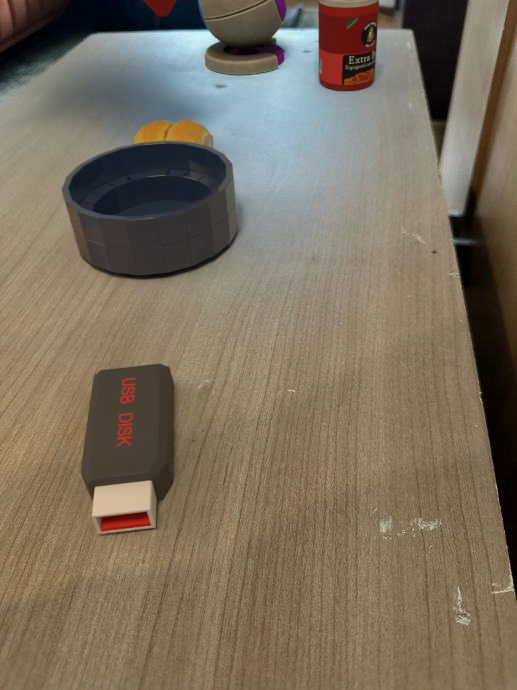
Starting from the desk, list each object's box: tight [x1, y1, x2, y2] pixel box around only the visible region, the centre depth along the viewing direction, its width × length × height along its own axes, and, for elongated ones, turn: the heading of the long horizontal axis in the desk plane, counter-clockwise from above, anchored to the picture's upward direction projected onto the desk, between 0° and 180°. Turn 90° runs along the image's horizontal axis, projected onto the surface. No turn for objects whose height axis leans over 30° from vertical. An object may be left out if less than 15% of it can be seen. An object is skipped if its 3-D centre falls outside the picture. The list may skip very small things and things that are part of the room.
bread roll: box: [132, 119, 215, 149], centre depth 73 cm, size 8×9×4 cm
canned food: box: [317, 0, 380, 92], centre depth 86 cm, size 8×8×11 cm
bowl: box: [61, 141, 239, 276], centre depth 60 cm, size 15×15×6 cm
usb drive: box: [80, 363, 175, 535], centre depth 40 cm, size 5×12×3 cm, turn 6°
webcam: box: [197, 0, 288, 76], centre depth 94 cm, size 13×13×15 cm
